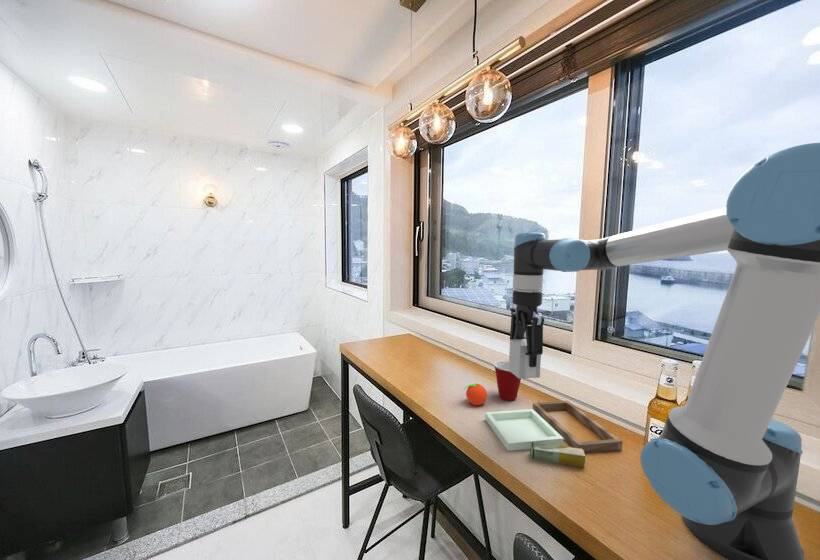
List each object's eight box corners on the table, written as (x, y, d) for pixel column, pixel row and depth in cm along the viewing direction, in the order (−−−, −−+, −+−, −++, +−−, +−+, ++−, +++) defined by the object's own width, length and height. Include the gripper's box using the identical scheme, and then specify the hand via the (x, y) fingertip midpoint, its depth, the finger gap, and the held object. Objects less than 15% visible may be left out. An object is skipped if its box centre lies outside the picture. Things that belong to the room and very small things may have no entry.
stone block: (539, 377, 85) (541, 345, 84) (518, 378, 84) (520, 345, 83) (528, 369, 91) (529, 338, 90) (508, 370, 90) (510, 339, 89)
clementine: (464, 409, 103) (464, 388, 102) (461, 399, 110) (461, 379, 109) (488, 409, 103) (489, 388, 102) (484, 399, 110) (484, 379, 109)
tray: (563, 449, 83) (563, 438, 82) (507, 454, 80) (508, 443, 80) (532, 418, 98) (532, 409, 97) (485, 421, 96) (485, 412, 95)
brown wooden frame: (621, 450, 82) (622, 441, 82) (578, 454, 80) (579, 445, 80) (567, 407, 104) (567, 400, 104) (532, 410, 103) (532, 403, 102)
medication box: (531, 462, 78) (531, 448, 77) (530, 454, 80) (530, 441, 79) (585, 470, 75) (586, 455, 74) (582, 461, 77) (583, 447, 76)
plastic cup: (530, 398, 111) (531, 365, 110) (513, 408, 104) (514, 373, 103) (503, 387, 119) (504, 357, 118) (486, 396, 112) (487, 363, 111)
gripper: (561, 295, 76) (556, 386, 79) (522, 286, 95) (519, 360, 97) (533, 295, 75) (528, 388, 77) (499, 286, 94) (496, 361, 96)
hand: (523, 372), depth 87 cm, fingers closed on stone block, 6 cm apart
